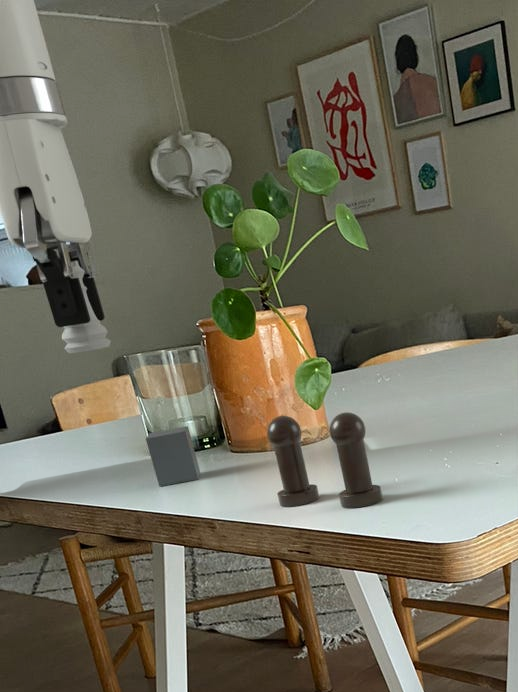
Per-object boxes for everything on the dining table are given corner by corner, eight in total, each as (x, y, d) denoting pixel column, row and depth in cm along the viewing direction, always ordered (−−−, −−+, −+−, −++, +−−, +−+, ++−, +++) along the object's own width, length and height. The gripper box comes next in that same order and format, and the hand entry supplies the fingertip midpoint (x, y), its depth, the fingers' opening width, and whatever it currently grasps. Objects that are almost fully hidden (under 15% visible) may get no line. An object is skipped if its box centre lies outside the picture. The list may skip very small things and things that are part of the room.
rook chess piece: (116, 345, 90) (91, 258, 87) (68, 354, 88) (41, 264, 85) (109, 345, 94) (85, 261, 91) (63, 353, 92) (36, 267, 89)
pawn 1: (275, 508, 78) (255, 422, 75) (284, 498, 81) (265, 415, 78) (315, 503, 77) (296, 416, 75) (322, 493, 81) (304, 410, 78)
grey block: (159, 486, 96) (145, 438, 94) (162, 479, 99) (149, 433, 97) (198, 479, 96) (185, 431, 94) (200, 472, 100) (187, 426, 98)
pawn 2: (338, 510, 74) (318, 419, 71) (345, 499, 77) (326, 412, 74) (379, 504, 74) (362, 413, 71) (385, 494, 77) (368, 406, 74)
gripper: (15, 129, 91) (72, 324, 98) (-67, 101, 76) (8, 335, 83) (90, 117, 91) (143, 313, 98) (24, 87, 76) (91, 322, 83)
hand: (80, 321), depth 90 cm, fingers closed on rook chess piece, 3 cm apart
